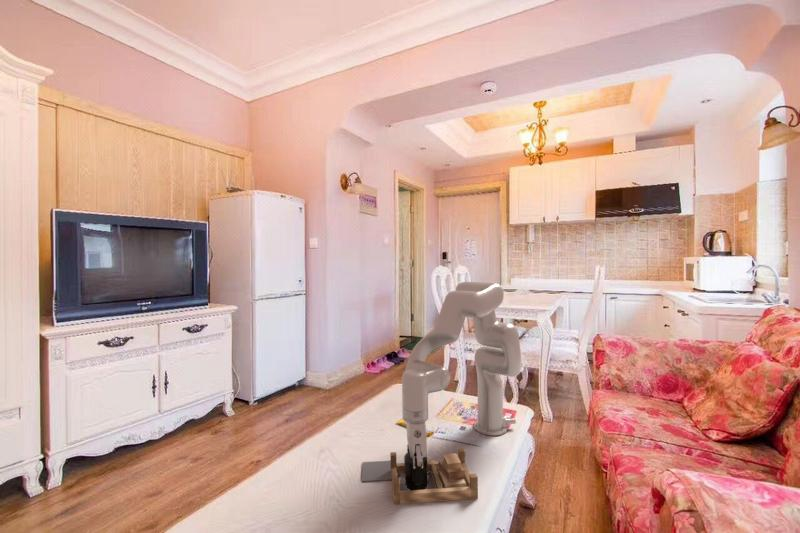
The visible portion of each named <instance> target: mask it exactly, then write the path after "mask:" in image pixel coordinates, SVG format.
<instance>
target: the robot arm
mask: <svg viewBox="0 0 800 533" xmlns="http://www.w3.org/2000/svg"><path fill="white" fill-rule="evenodd" d="M503 289H504V288H503V287H502V286H501V285H500V284H498V283H495V282H483V281H482V282H479V281H462V282H460V283H458V284H457V285H456V288H455V290H453V291H450V292H448V293H447V294H446V296H445V297H444V301H443V303H442V305H441V309H440V311H439V314H438V316H437V319H436V322H435V324H434V327H433V328H432V330H431V331H430V332H428V333H427V334H426V335H425V336H424V335H423V337H422V338H420V340H419V341H418V342H417V343H416V344H415V346H413V348H412V350H411V352H410V355H409V357H408V360H407V362H406V366H405V370H404V371H403V372H402V375H401V390H402V391H401V392H402V393H401V398H402V399H401V402H402V407H401V409H402V410H401V411H402V419H403V420H404V421H406V422H407V428H406V440H407V441H406V442H407V445H408V447H409V452H410V457H411V458H413V467H412V481H413V482H420V481H424V467H423V457H427V458H428V442H427V440H428V439H427V438H428V437H426V429H427V427H426V422H427V421H428V420H429V394H430V393H431V394H432V393H436V392H437V393H439V392H441V391H443V390H445V389H446V388H447V387H448V386H449V384H450V381H451V374H450V372H449V370H448V369H447V368H446V367H445V366H442V365H439V364H434V363H431V362H426V359H427V357H428V356H429V355H430V354H431V353H432V352H433V351H435V350H436V349H437V348H440V347H443V346H446V345H449V344H452V343H454V342H456V341H458V340H459V337H460V335H461V332H462V329H463V327H464V326H463V325H464V323H465V320H466V318H472V321H473V328H474V335H475V338H476V342H477V343H478V344H479V345H480V347H479V348H477V349H476V351H475V354H474V364H475V369H476V377H477V378H476V379H477V380H476V381H477V420H475V421H474V423H473V428H474V429H475V431H477V432H478V433H480V432H481V433H480V434H482V433H483V434H482V435H485V436H501V435H505V434H506V433H507V431H508V425H514V424H516V423H517V420H516V418H515V417H514V418H510V416H509V415H508V416H504V385H503V380H502V377H501V375H502V376H505V377H511V378H514V377H515V378H516V377H518V376H519V375H520V374H521V370H522V366H523V365H522V363H523V362H522V354H521V345H520V337H519V331H518V329H517V327H516V326H515V325H514V324H512V323H509V322H502V321H501V322H500V321H498V320H497V316H496V314H497V313H496V309H498V308H499V307H500V306H501V305H502V303H503V301H504V297H505V295H504V294H505V293H504V290H503ZM481 345H482V346H481ZM414 454H416V456H414ZM422 455H423V456H422ZM415 458H417V462H415Z"/></svg>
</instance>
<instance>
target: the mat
mask: <svg viewBox="0 0 800 533" xmlns="http://www.w3.org/2000/svg"><path fill="white" fill-rule="evenodd" d="M361 466H362V468H361V469H362V470H361V482H362V483H372V482H388V481H391V482H392V474H391V462H390V460H379V461H362V465H361Z"/></svg>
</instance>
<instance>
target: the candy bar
mask: <svg viewBox="0 0 800 533" xmlns="http://www.w3.org/2000/svg"><path fill="white" fill-rule="evenodd" d="M396 423H397V424H399V425H401V426H402V427H404V428H405V429H407V422H406V421H404V420H403V418H401V419H399V420H398V421H396ZM434 433H435V431H434V430H432V431H431V430H429V429H427V428H426V438H429V437H431V436H432V435H433V434H434Z"/></svg>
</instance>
